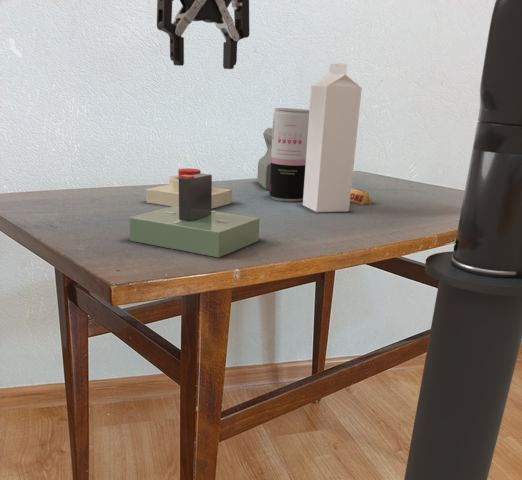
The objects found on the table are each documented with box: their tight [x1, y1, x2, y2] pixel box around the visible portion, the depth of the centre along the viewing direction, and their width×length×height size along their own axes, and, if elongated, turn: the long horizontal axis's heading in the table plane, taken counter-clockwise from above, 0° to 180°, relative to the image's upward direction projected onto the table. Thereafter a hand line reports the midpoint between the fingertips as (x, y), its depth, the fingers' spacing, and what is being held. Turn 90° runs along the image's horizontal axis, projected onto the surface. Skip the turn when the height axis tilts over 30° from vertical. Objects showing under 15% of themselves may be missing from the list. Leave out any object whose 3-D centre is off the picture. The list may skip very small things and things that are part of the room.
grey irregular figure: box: [256, 127, 273, 191], centre depth 117 cm, size 16×9×11 cm, turn 179°
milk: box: [302, 63, 363, 213], centre depth 95 cm, size 6×6×22 cm
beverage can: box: [268, 107, 310, 203], centre depth 103 cm, size 6×6×15 cm
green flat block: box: [128, 205, 260, 258], centre depth 75 cm, size 13×10×3 cm
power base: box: [145, 175, 233, 210], centre depth 98 cm, size 11×9×4 cm
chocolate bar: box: [350, 188, 372, 206], centre depth 109 cm, size 3×12×2 cm, turn 35°
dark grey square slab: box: [179, 173, 213, 221], centre depth 73 cm, size 5×2×5 cm, turn 152°
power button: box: [177, 167, 202, 179], centre depth 97 cm, size 4×4×2 cm
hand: (204, 67), depth 90 cm, fingers open, 8 cm apart
